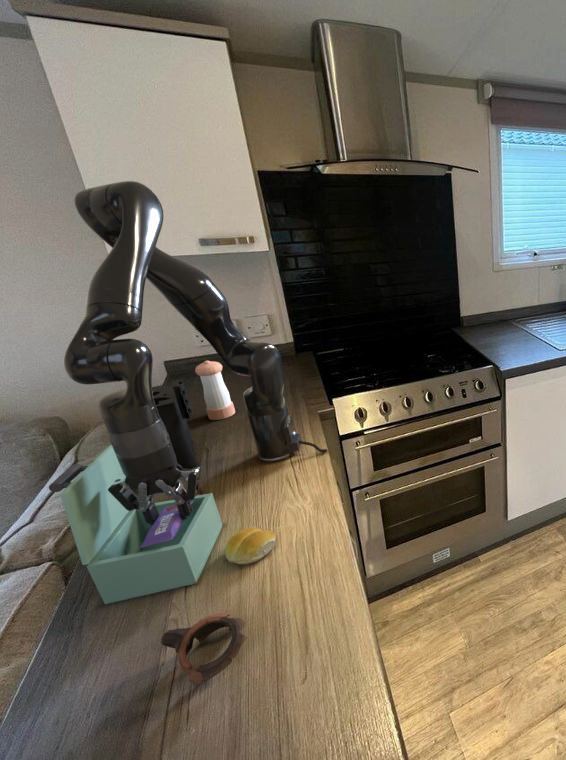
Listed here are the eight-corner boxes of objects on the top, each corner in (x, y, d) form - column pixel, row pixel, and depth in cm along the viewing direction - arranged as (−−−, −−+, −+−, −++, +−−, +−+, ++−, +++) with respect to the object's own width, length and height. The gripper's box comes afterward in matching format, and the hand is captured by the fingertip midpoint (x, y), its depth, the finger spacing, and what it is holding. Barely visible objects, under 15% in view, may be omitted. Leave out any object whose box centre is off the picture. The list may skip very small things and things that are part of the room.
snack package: (169, 535, 80) (136, 544, 78) (174, 543, 80) (141, 552, 79) (192, 496, 90) (163, 503, 88) (195, 503, 90) (167, 510, 89)
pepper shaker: (222, 421, 140) (206, 366, 133) (203, 419, 141) (186, 364, 134) (240, 410, 147) (226, 357, 140) (221, 408, 148) (206, 356, 141)
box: (222, 525, 97) (212, 492, 94) (196, 583, 83) (183, 546, 80) (146, 541, 93) (132, 507, 90) (104, 604, 79) (86, 566, 76)
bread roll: (251, 531, 96) (247, 517, 94) (284, 540, 93) (280, 526, 92) (215, 560, 88) (210, 544, 87) (249, 571, 86) (245, 555, 84)
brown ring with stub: (260, 620, 77) (253, 609, 71) (236, 687, 70) (226, 681, 64) (181, 617, 74) (167, 605, 68) (149, 687, 67) (130, 680, 62)
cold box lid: (118, 442, 85) (84, 444, 83) (66, 493, 71) (24, 497, 69) (133, 504, 90) (102, 508, 88) (88, 564, 76) (49, 569, 74)
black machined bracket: (150, 485, 110) (121, 407, 102) (151, 449, 125) (125, 379, 117) (207, 467, 117) (184, 393, 109) (201, 435, 132) (180, 368, 124)
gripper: (80, 464, 74) (116, 542, 80) (181, 448, 78) (208, 524, 84) (105, 441, 80) (136, 515, 87) (196, 428, 85) (220, 499, 91)
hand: (171, 519), depth 85 cm, fingers closed on snack package, 4 cm apart
